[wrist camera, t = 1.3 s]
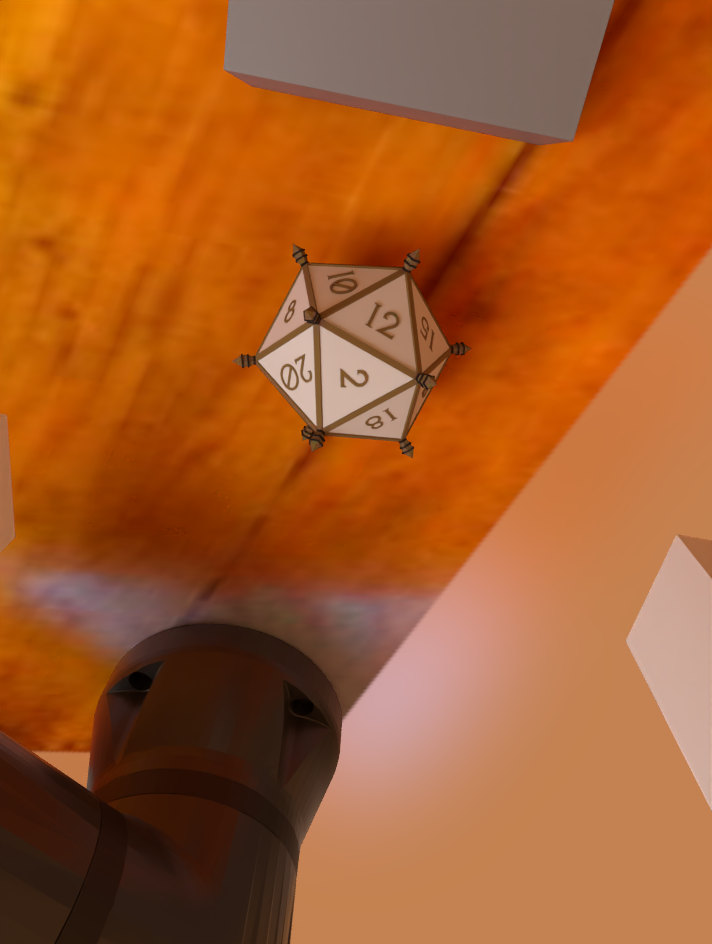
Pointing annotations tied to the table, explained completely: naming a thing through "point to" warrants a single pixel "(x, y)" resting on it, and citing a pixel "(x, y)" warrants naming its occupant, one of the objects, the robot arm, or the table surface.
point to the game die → (354, 350)
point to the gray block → (428, 58)
